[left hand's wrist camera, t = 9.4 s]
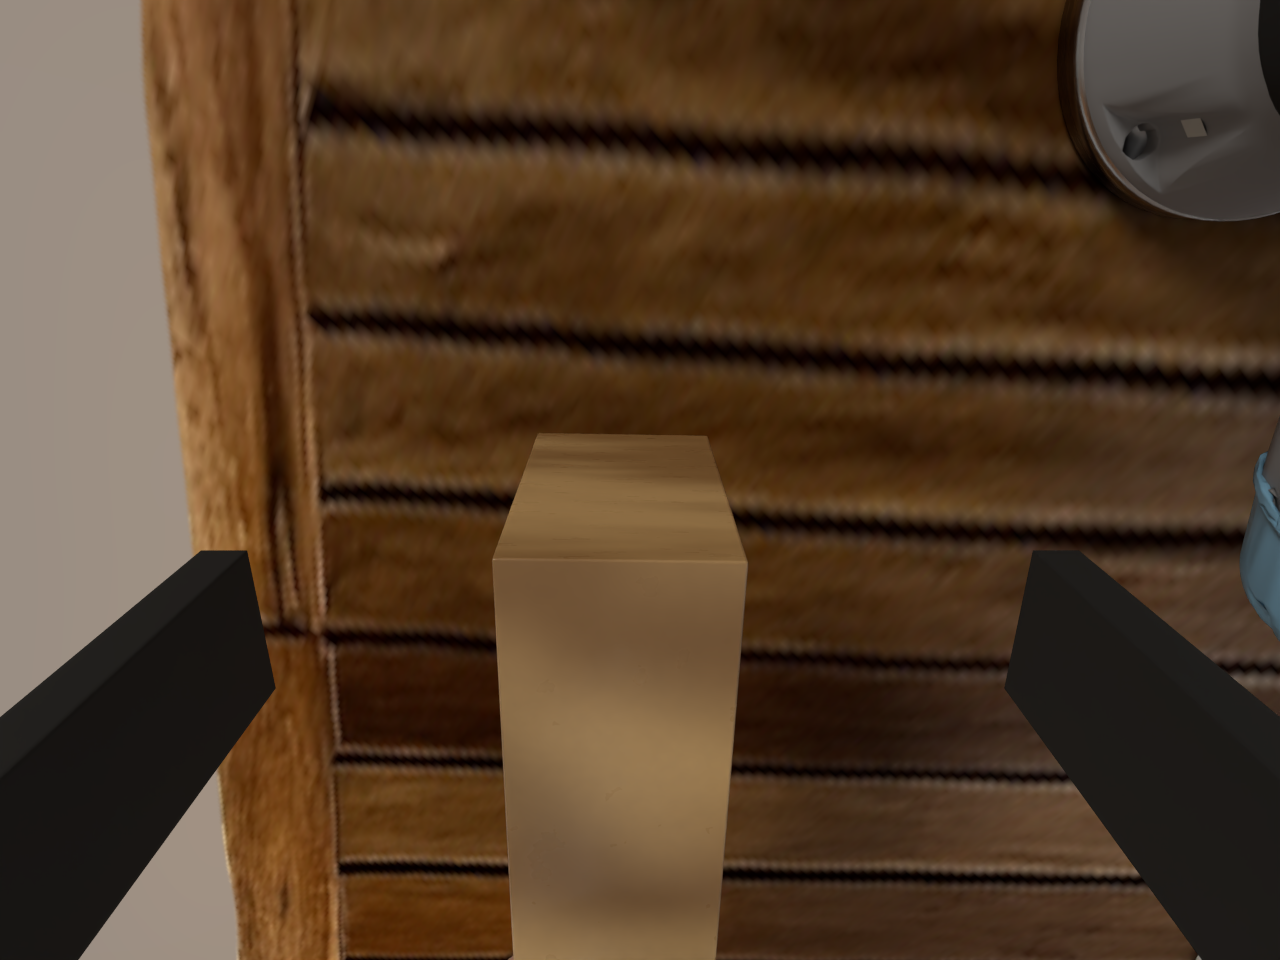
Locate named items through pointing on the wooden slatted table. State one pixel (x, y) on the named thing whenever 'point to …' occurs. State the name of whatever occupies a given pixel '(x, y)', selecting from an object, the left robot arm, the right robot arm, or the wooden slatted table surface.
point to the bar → (618, 695)
